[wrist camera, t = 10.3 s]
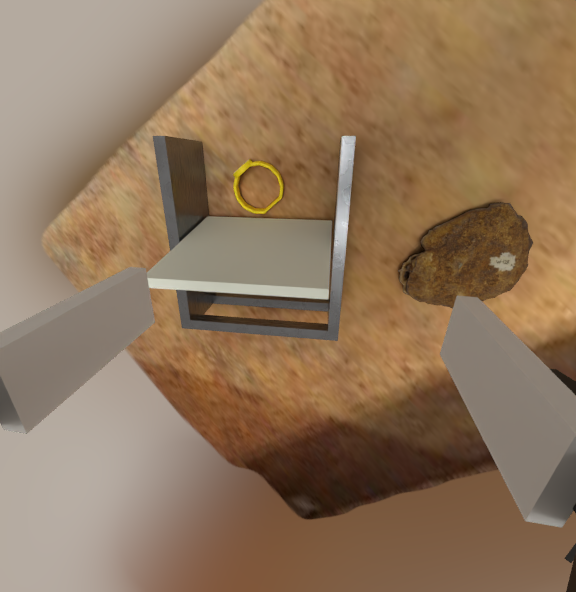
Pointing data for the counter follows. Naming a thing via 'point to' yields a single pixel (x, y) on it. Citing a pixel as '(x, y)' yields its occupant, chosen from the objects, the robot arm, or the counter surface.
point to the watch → (237, 192)
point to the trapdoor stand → (194, 209)
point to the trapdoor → (250, 258)
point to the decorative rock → (469, 257)
